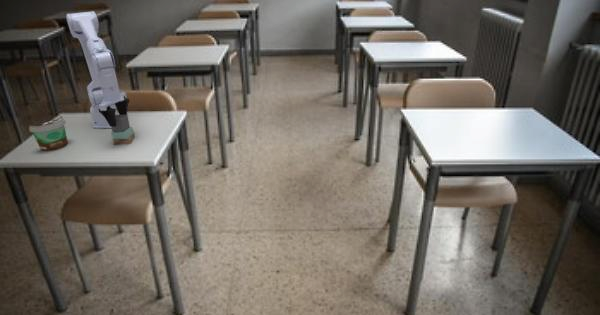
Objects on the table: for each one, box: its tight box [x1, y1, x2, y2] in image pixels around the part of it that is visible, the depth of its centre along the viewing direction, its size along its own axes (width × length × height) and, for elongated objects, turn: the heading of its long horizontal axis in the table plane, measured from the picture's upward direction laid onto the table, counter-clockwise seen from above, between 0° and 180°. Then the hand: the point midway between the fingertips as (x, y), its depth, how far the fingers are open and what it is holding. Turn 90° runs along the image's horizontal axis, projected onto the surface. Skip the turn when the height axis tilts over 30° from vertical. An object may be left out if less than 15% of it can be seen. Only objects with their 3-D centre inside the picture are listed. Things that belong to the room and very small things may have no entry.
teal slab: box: [111, 126, 135, 140], centre depth 155 cm, size 6×6×2 cm
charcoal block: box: [111, 114, 131, 132], centre depth 153 cm, size 4×4×5 cm
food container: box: [29, 115, 69, 152], centre depth 151 cm, size 12×6×10 cm, turn 148°
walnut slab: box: [112, 132, 136, 146], centre depth 156 cm, size 6×6×2 cm
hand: (118, 122), depth 153 cm, fingers open, 7 cm apart
